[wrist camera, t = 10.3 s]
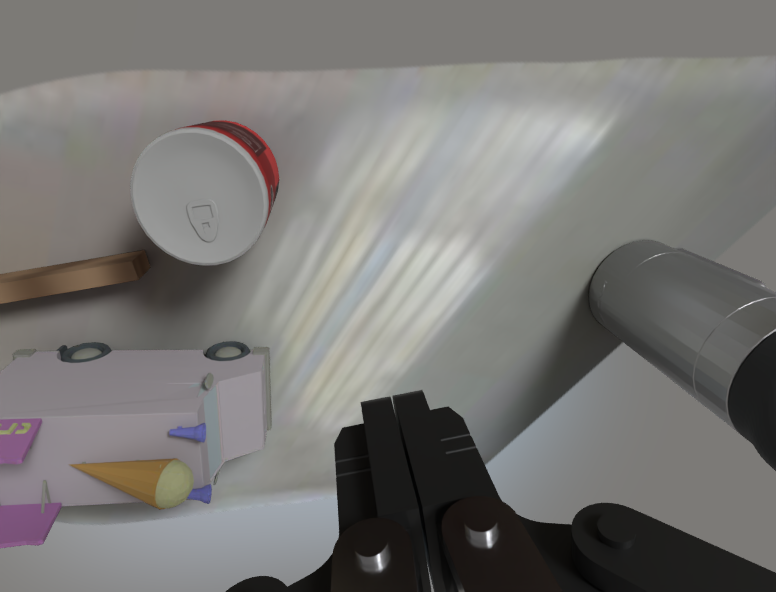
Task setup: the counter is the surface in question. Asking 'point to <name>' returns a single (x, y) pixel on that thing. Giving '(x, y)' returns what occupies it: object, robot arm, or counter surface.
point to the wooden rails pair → (72, 276)
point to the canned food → (205, 191)
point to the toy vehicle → (123, 428)
